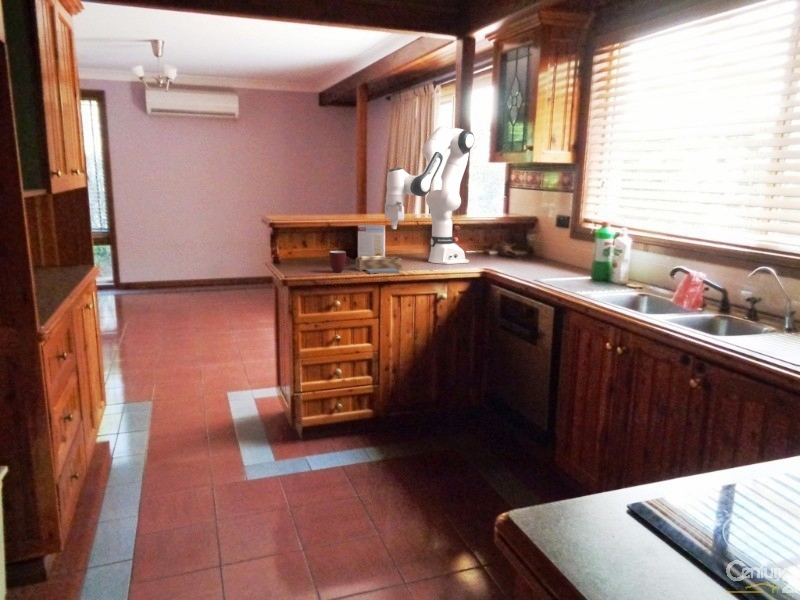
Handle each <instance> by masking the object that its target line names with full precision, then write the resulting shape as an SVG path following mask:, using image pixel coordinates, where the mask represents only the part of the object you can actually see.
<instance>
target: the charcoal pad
mask: <svg viewBox="0 0 800 600" xmlns="http://www.w3.org/2000/svg"><path fill="white" fill-rule="evenodd" d="M365 272H366V273H367V272H368V273H367V274H369V273H370V274H369V275H374V274H373V273H387V274H400V270H397V269H395V268H385V269H366V271H365Z"/></svg>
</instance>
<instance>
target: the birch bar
mask: <svg viewBox="0 0 800 600" xmlns="http://www.w3.org/2000/svg"><path fill="white" fill-rule="evenodd" d="M360 259H361V260H376V259H383V257H382V256H360Z"/></svg>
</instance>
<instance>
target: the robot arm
mask: <svg viewBox="0 0 800 600" xmlns="http://www.w3.org/2000/svg"><path fill="white" fill-rule="evenodd" d="M474 144H475V136H474V133H473V132H472V131H470V130H468V129H463V128H458V127H446V126H439V127H438V128H436V129H435V130H434V131H433V132H432V133H431V134H430V136H429V137H428V139H427V140H426V141H425V143H424V144H423V147H422V149H421V151H422V155H423V158H424V159H425V160H426V161H427V164H426V166H425V168H424V170H423V172H422V173H420V174H418V175H411V174H409V173H408V172H407V171H405V169H404V168H402V167H393V168H391V169H389V170H388V171H387V175H386V176H387V178H386V190H387V191H386V197H385V198H384V201H383V203H384V204H383V205H384V217H385V218H386V219H389V220H390V223H391V229H393V230H397V228H398V223H399V222H404V221H405V220H404V219H405V207H404V205H405V195H409V196H417V197H425V196H426V197H425V201H426V205H427V206H428V208H429V212H430V216H431V217H430V218H431V223H432V224H431V237H430V252H429V257H428V261H427V262H429V263H432V264H433V263H434V264H442V265H453V264H467V263H470V260H469V259H467V258H466V254H465V251H464V249H463V248H461V247H460V246H459V245H458V244H457V243H456V242H458V241H459V238H458V237H456V236H455V237H454V236H453V220H452V219H451V217H450V213H449V212H454V211H457V210H458V209H460V206H461V205H462V198H461V196H460V190H461V183H462V180H463V176H464V173H465V171H466V167H467V165H468V161H469V154H470V153H469V152H470V151H471V149H472V148H473V146H474ZM447 150H450V153H449V155H448V156H447V159H446V162H445V164H444V168H443V169H442V173H441V175H440V178H441V181H442V182H441V183H442V184H441V188H440V189H435V190H432V191H430V190H431V187H432V184H433V180H434V179H435V178H436V175H437V174H438V172H439V169H440V167H441V166H442V162H443V161H444V156H443V155H445V153H446V152H447Z"/></svg>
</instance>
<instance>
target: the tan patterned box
mask: <svg viewBox="0 0 800 600" xmlns="http://www.w3.org/2000/svg"><path fill="white" fill-rule="evenodd" d="M356 268H357V269H358V270H357V269H356ZM385 268H395V269H397V270H399V271H401V270H400V269H402V270H403V259H402V258H401V257H398V256H385V257H383V259H376V260H361V259H360V258H358V257H355V269H356V270H357V271H359V270H360V271H359V272H364V271H363V270H366V269H385Z"/></svg>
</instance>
